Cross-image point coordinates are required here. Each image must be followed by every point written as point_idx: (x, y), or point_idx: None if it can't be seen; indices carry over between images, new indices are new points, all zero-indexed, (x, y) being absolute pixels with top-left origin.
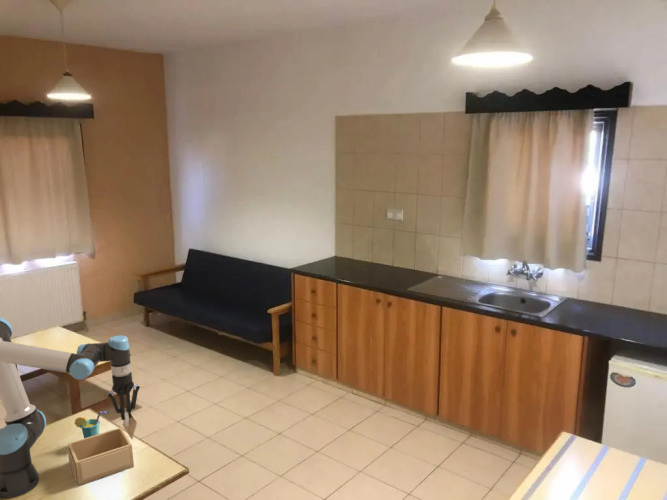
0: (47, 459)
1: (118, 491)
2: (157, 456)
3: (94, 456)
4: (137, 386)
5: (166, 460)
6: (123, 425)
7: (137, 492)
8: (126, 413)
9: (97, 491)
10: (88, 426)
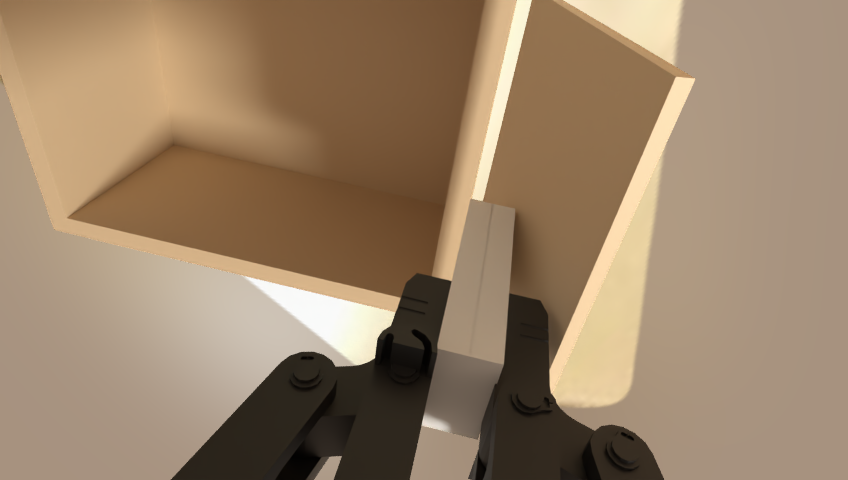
0: None
1: (326, 323)
2: (632, 231)
3: (174, 254)
4: None
5: (635, 300)
6: (527, 31)
7: None
8: (448, 424)
9: None
10: None
